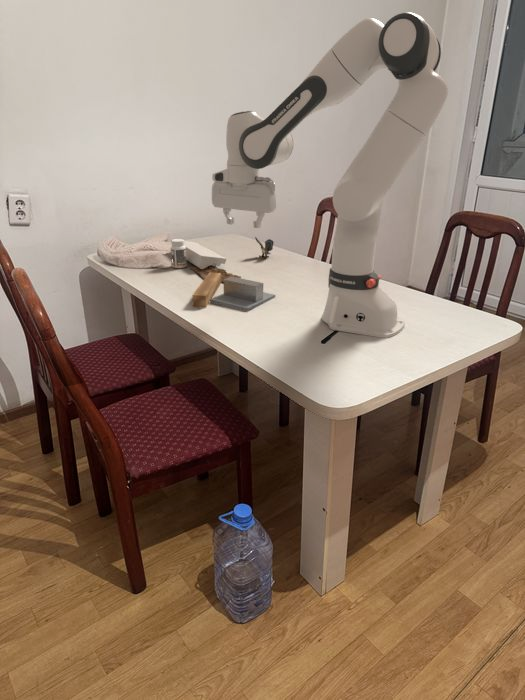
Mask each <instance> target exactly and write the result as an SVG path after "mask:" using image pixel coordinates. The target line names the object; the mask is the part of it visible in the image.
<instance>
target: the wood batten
mask: <svg viewBox="0 0 525 700" xmlns="http://www.w3.org/2000/svg"><path fill="white" fill-rule="evenodd" d="M221 284H222V282H221V273H209V274H208V275H207V276H206V278H205V279H203V280H202V282H201V283H200V284H199V286H198V287H197V288H196V290H195V291H194V292H193V293H192V298H191V299H192V307H193V308H207V307H208V306H209V304H210V299H212V298H214V297H215V294H216V292H218V289H219V287H220V286H221Z"/></svg>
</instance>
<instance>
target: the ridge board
mask: <svg viewBox="0 0 525 700" xmlns="http://www.w3.org/2000/svg"><path fill="white" fill-rule="evenodd" d="M275 298H276V294H274V293H269V292H265V291H264V283H263V282H260V281H255V280H250V279H245V278H242V277H241V278H237V277H232V276H231V277H228V278H226V279H224V282H223V293H221V294H219V295H216V296H213V297H212V299H210V302H209V304H214V305H218V306H222V307H227V308H231V309H235V310H240V311H244V312H250V311H252V310H254V309H255V308H258V307H260V306H262V305H263V304H266V303H267V302H269V301H271V300H273V299H275Z"/></svg>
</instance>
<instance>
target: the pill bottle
mask: <svg viewBox="0 0 525 700" xmlns="http://www.w3.org/2000/svg"><path fill="white" fill-rule="evenodd" d="M184 241H185V239H184V238H183V239H182V238H174V239H171V247H170V256H171V255H172V259H173V263H172V262H171V267H172V268H175V269H181V268H182V269H183V268H186V267H187V266H188V260H187V257H186V247H185V246H184Z"/></svg>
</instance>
